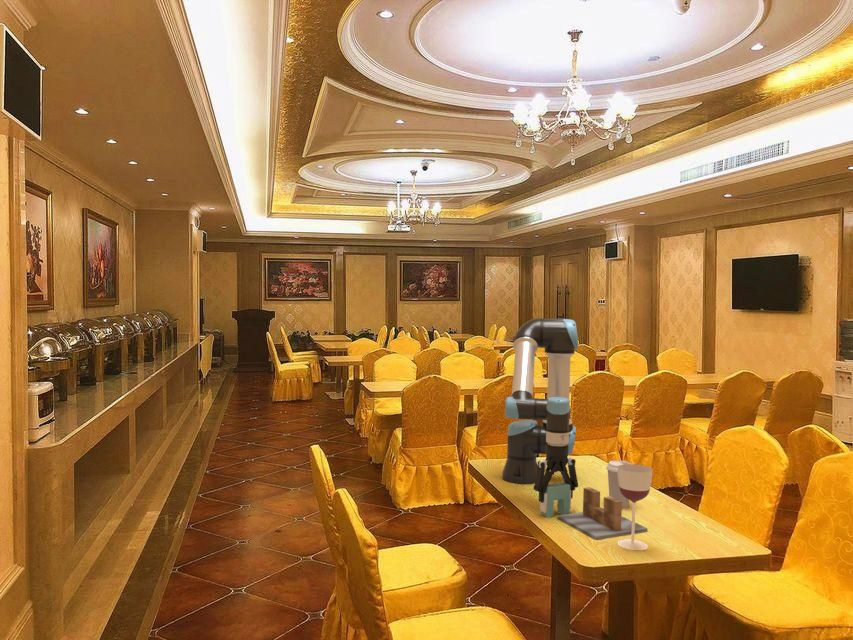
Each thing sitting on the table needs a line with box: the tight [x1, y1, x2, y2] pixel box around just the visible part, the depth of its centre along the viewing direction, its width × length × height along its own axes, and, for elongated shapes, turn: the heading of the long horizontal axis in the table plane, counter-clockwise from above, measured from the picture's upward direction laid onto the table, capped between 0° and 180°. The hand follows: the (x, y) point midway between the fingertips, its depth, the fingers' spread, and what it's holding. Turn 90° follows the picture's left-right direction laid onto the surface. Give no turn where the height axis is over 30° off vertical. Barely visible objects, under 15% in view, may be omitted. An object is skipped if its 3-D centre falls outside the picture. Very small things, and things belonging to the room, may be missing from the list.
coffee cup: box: [605, 460, 632, 509], centre depth 231 cm, size 10×10×15 cm
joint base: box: [556, 486, 648, 541], centre depth 211 cm, size 20×20×10 cm
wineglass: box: [617, 463, 654, 551], centre depth 194 cm, size 9×10×23 cm
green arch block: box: [540, 482, 571, 518], centre depth 220 cm, size 4×9×10 cm, turn 114°
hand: (555, 509), depth 221 cm, fingers closed on green arch block, 9 cm apart
